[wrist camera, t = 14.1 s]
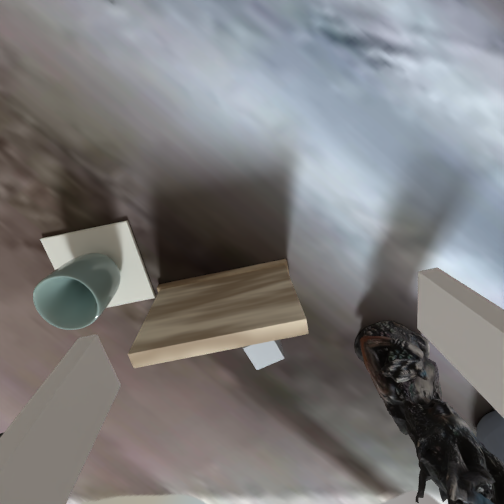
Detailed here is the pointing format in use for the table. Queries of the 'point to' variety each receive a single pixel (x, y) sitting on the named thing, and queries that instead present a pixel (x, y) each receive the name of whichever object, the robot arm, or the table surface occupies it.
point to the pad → (114, 246)
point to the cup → (77, 291)
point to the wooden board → (219, 314)
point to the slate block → (264, 353)
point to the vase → (492, 433)
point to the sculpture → (429, 416)
